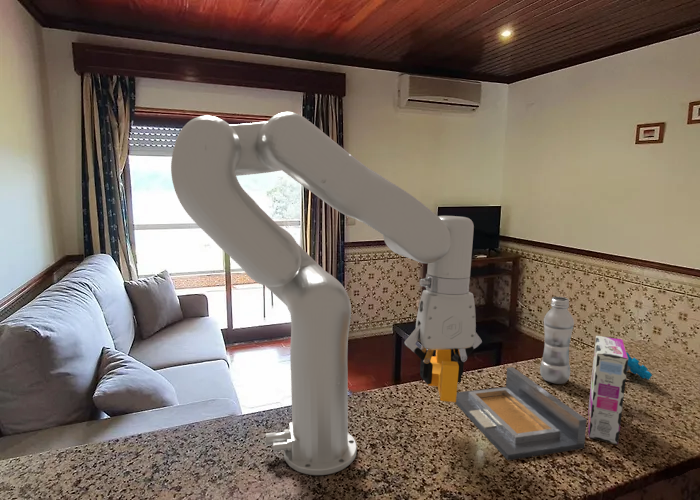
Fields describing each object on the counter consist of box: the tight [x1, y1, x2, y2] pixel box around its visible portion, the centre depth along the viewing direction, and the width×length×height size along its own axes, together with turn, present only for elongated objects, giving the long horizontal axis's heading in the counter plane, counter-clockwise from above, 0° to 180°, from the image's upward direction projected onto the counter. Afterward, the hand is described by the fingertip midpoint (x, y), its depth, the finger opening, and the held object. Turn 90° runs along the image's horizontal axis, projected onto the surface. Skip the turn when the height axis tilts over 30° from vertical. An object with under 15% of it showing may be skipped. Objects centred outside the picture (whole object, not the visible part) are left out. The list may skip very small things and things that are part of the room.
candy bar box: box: [587, 335, 628, 445], centre depth 80 cm, size 11×5×16 cm, turn 152°
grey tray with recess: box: [454, 366, 588, 461], centre depth 84 cm, size 15×22×6 cm
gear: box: [626, 351, 653, 380], centre depth 102 cm, size 11×6×10 cm
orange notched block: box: [427, 349, 459, 403], centre depth 79 cm, size 12×4×6 cm, turn 174°
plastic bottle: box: [539, 296, 575, 385], centre depth 99 cm, size 6×7×20 cm
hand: (441, 379), depth 79 cm, fingers closed on orange notched block, 5 cm apart
